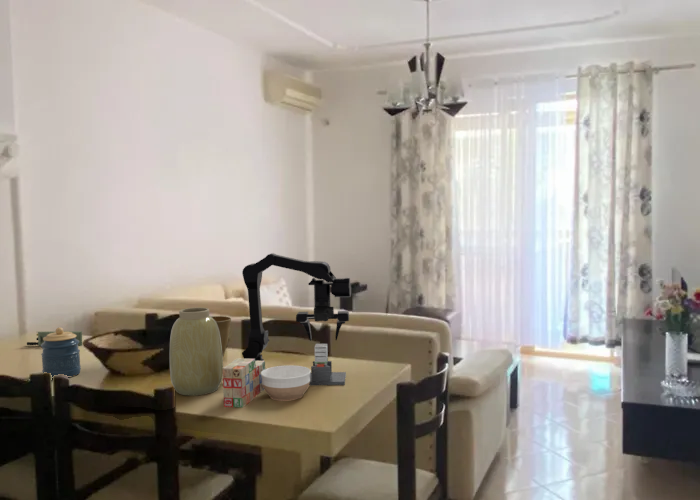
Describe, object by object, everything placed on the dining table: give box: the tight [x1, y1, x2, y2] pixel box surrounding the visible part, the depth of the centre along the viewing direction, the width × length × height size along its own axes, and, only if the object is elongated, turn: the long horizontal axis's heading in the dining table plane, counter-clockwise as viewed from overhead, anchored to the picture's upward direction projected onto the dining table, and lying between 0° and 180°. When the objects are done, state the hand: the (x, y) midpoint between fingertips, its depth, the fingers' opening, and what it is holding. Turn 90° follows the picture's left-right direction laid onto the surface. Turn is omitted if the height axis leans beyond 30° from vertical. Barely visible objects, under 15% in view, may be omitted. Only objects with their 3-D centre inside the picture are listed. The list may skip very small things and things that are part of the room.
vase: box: [168, 307, 224, 396], centre depth 215 cm, size 17×17×27 cm
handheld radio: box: [26, 330, 83, 347], centre depth 289 cm, size 7×3×25 cm
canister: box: [40, 327, 82, 377], centre depth 239 cm, size 13×13×18 cm
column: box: [314, 343, 329, 366], centre depth 222 cm, size 4×5×8 cm
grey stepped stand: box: [309, 360, 347, 386], centre depth 224 cm, size 16×12×7 cm
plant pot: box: [210, 315, 232, 357], centre depth 259 cm, size 15×15×16 cm
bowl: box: [261, 364, 311, 402], centre depth 208 cm, size 16×16×8 cm
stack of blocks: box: [222, 357, 266, 408], centre depth 207 cm, size 21×6×12 cm, turn 168°
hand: (323, 340), depth 233 cm, fingers open, 9 cm apart
